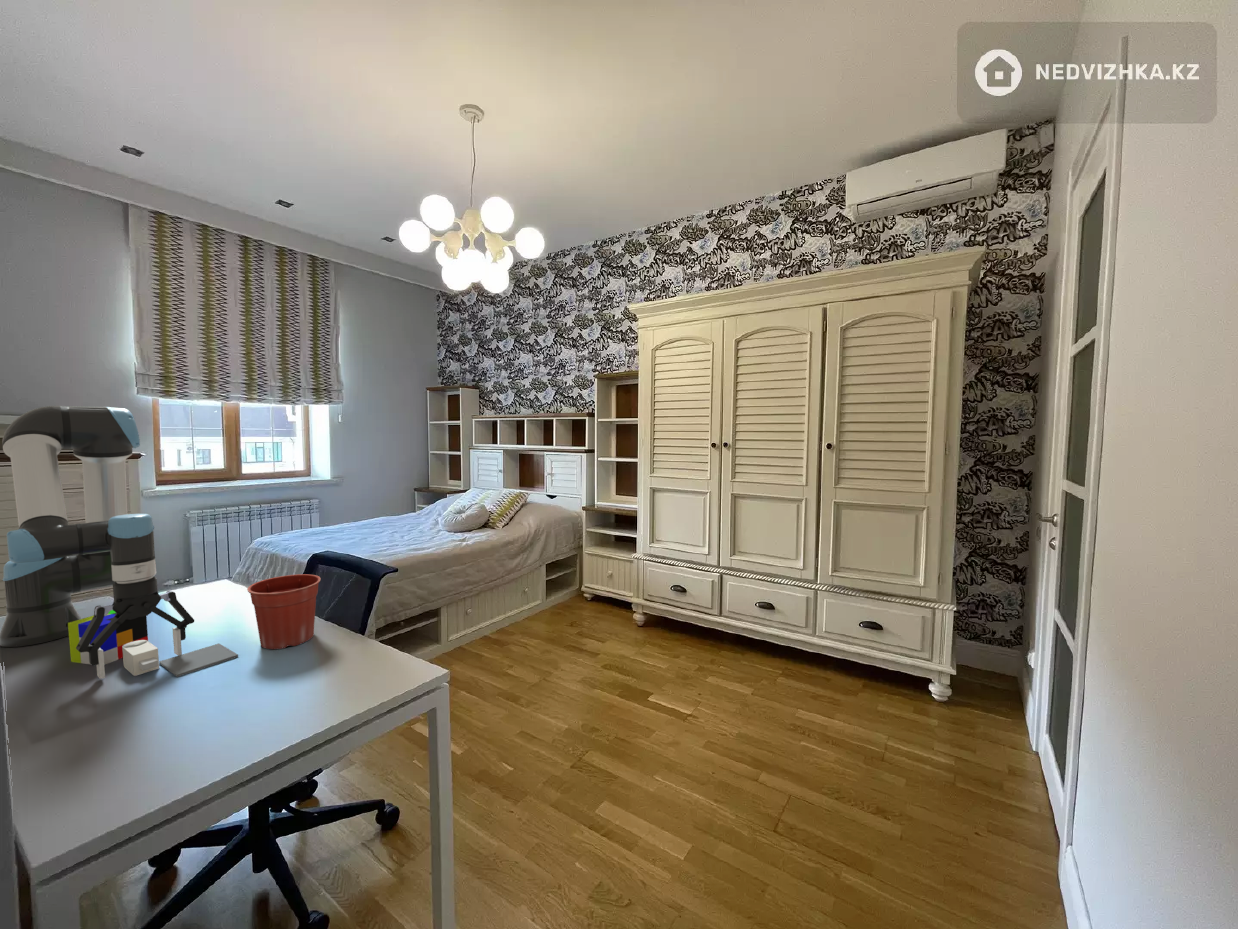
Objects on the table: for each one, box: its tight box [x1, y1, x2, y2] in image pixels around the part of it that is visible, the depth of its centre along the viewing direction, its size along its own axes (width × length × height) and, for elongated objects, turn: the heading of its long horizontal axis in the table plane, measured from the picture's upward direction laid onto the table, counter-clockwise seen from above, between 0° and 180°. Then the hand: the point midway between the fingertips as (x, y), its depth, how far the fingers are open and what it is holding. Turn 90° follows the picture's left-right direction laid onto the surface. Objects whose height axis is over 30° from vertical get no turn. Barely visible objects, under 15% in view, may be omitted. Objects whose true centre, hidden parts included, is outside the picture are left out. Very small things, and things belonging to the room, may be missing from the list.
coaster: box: [159, 643, 239, 678], centre depth 122 cm, size 12×12×1 cm
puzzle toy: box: [68, 610, 149, 666], centre depth 124 cm, size 10×10×10 cm
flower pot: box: [246, 573, 321, 650], centre depth 133 cm, size 16×16×16 cm
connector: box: [122, 640, 160, 677], centre depth 117 cm, size 13×4×5 cm, turn 58°
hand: (141, 665), depth 118 cm, fingers open, 13 cm apart
